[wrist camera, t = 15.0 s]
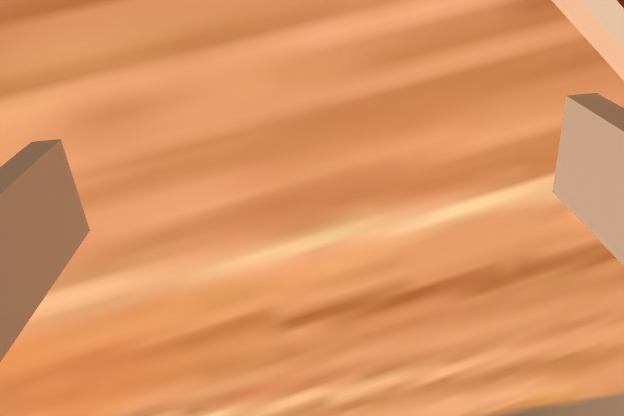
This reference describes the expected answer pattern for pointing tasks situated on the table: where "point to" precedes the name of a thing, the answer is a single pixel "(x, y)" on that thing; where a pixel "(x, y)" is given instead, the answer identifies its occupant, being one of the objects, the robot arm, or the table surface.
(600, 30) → the corner wall
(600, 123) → the robot arm
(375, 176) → the table surface
